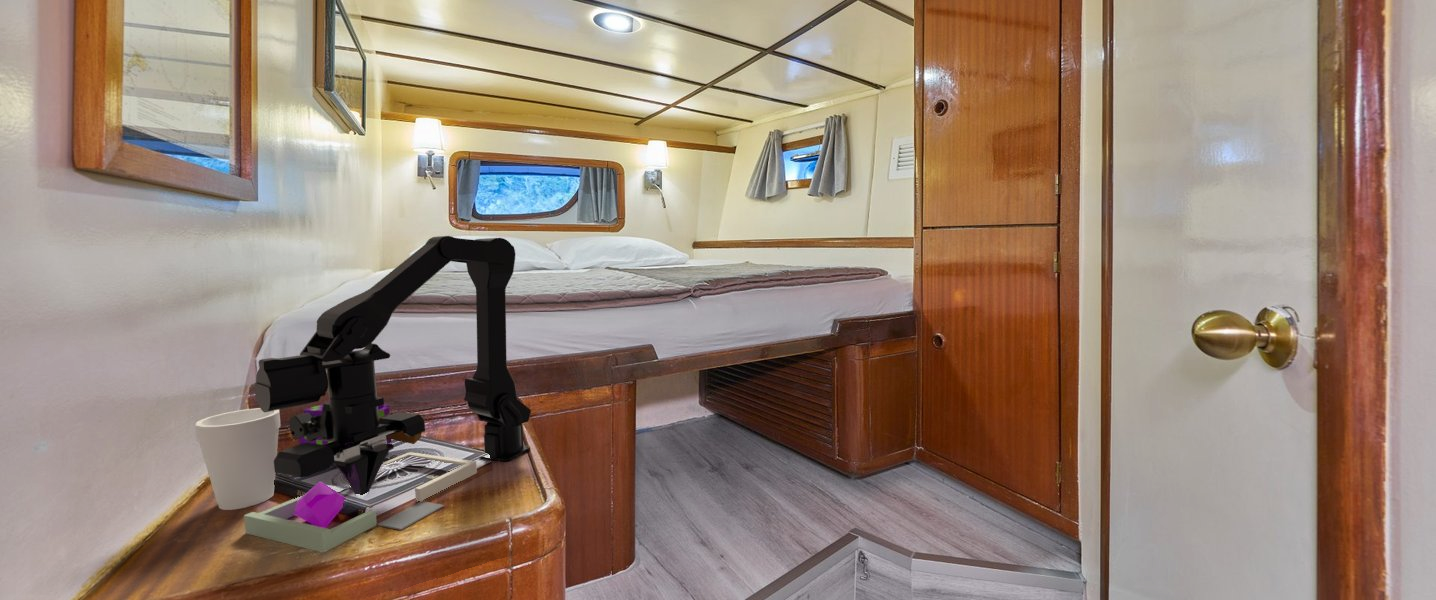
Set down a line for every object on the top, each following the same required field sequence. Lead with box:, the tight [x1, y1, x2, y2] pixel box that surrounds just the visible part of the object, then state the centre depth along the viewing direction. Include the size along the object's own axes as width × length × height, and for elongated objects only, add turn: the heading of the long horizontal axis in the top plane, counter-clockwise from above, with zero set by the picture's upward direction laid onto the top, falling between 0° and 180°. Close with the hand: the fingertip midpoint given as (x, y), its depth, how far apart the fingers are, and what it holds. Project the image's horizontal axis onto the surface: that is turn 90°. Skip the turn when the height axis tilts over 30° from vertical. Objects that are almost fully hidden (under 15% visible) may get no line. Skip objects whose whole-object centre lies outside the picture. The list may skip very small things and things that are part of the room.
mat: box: [377, 500, 445, 531], centre depth 74 cm, size 7×4×1 cm, turn 161°
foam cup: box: [194, 407, 281, 511], centre depth 79 cm, size 10×9×13 cm
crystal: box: [294, 480, 347, 528], centre depth 73 cm, size 5×5×5 cm
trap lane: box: [243, 451, 478, 553], centre depth 79 cm, size 25×15×2 cm, turn 161°
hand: (362, 497), depth 77 cm, fingers closed
